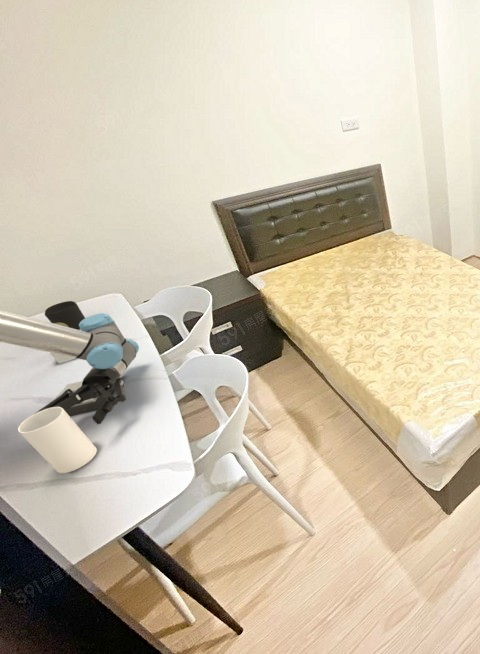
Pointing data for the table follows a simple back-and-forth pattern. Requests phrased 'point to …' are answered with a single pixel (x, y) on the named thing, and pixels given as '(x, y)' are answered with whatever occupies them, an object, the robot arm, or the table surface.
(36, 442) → the cup
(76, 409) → the scale
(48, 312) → the pen holder
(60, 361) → the cosmetic box
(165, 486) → the table surface
